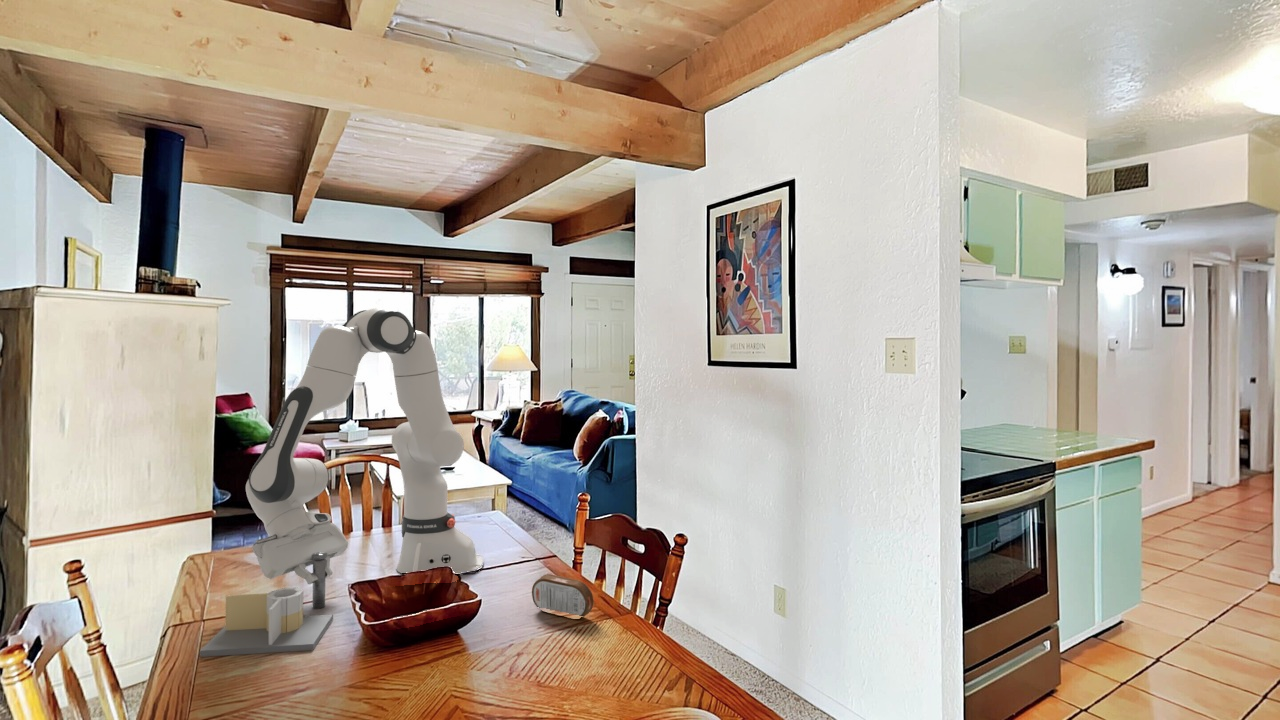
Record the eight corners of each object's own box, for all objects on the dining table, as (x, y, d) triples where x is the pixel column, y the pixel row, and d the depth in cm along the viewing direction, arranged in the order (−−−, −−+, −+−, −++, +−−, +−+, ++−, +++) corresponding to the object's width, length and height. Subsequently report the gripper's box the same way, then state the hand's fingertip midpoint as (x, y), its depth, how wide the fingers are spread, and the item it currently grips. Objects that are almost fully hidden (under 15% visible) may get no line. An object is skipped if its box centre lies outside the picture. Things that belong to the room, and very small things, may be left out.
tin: (593, 619, 145) (594, 581, 144) (586, 624, 142) (587, 586, 142) (537, 606, 151) (537, 570, 151) (529, 611, 148) (529, 574, 148)
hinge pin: (328, 603, 150) (329, 551, 149) (324, 609, 147) (325, 556, 146) (313, 604, 149) (313, 552, 149) (309, 609, 146) (309, 556, 146)
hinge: (332, 620, 141) (333, 582, 141) (313, 650, 127) (313, 608, 127) (231, 625, 137) (231, 586, 137) (199, 657, 123) (200, 614, 123)
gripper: (255, 533, 141) (286, 586, 137) (334, 512, 159) (363, 558, 156) (242, 551, 143) (272, 603, 139) (321, 527, 161) (350, 573, 158)
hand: (321, 579), depth 147 cm, fingers closed on hinge pin, 3 cm apart
